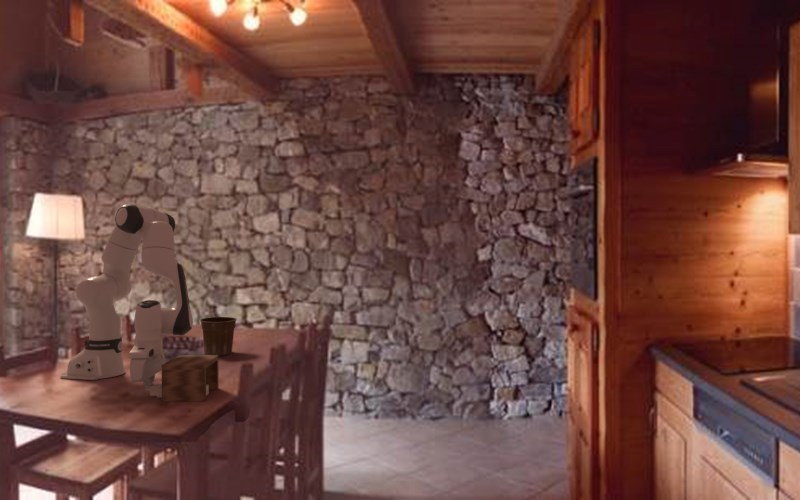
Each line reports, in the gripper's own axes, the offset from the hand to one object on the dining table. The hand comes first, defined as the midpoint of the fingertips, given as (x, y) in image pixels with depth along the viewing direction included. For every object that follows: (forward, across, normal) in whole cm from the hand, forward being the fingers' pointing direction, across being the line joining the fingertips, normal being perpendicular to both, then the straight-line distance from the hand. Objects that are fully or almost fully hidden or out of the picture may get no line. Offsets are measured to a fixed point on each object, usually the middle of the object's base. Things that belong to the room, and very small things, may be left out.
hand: (148, 388), depth 195 cm
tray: (+2, 0, +10) cm, 11 cm away
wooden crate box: (+2, 0, +14) cm, 14 cm away
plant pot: (+2, -68, +4) cm, 68 cm away
